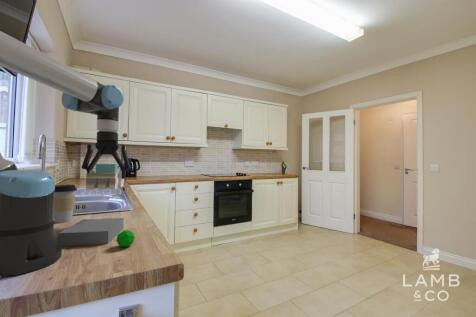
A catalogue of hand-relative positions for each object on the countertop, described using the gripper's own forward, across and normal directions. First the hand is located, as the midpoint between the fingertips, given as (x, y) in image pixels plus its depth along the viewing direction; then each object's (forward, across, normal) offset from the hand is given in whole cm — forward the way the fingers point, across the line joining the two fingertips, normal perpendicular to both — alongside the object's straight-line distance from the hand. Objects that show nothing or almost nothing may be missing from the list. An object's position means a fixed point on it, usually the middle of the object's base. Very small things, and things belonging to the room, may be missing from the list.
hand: (106, 186), depth 93 cm
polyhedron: (+16, -14, +25) cm, 33 cm away
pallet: (0, 0, 0) cm, 0 cm away
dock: (+15, -1, +14) cm, 21 cm away
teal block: (-6, 0, 0) cm, 6 cm away
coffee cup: (+16, +20, -10) cm, 27 cm away
